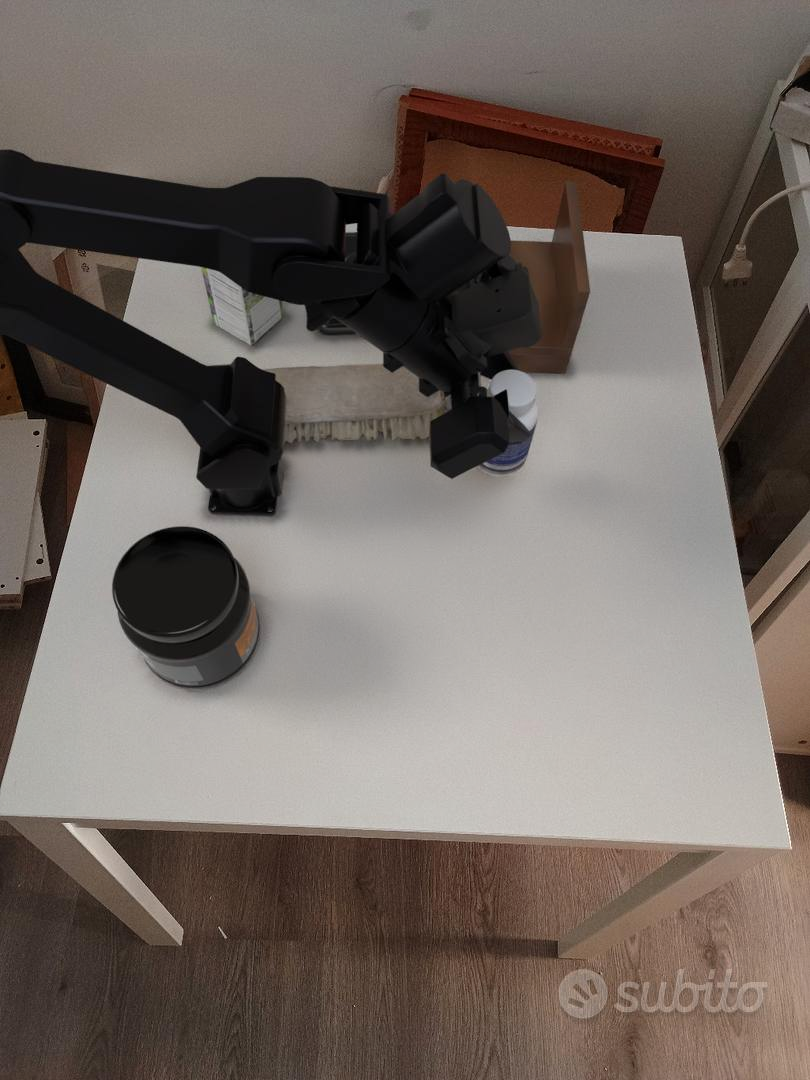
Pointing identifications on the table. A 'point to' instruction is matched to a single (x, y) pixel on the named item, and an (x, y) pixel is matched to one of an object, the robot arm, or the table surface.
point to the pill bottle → (522, 408)
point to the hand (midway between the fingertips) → (523, 411)
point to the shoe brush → (355, 402)
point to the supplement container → (186, 607)
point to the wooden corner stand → (556, 288)
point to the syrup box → (240, 308)
